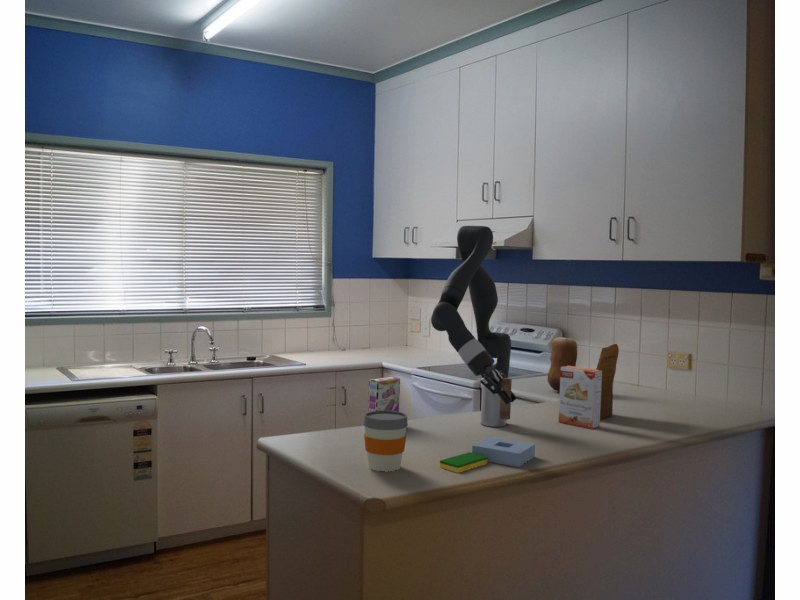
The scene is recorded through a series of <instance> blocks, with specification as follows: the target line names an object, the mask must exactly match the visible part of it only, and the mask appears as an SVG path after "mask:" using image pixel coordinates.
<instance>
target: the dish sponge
mask: <svg viewBox="0 0 800 600" xmlns="http://www.w3.org/2000/svg"><path fill="white" fill-rule="evenodd" d="M487 458H488V457H486V456H482V455H478V454H474V453H472V452H470V451H469V452H468V451H467V452H465V453H461V454H459V455H454V456H450V457H448V458H444V459H440V460H439V468H441V469H444V470H446V469H447V471H450V472H453V473H456V474H457V473H461V472H465V470H466V471H468V470H471V468H472V469H475V468H477V466H479V467H482V466H484V465H487V464H488V461H487ZM481 465H482V466H481ZM474 467H475V468H474Z"/></svg>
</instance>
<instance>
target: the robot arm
mask: <svg viewBox="0 0 800 600" xmlns="http://www.w3.org/2000/svg"><path fill="white" fill-rule="evenodd" d="M456 235H457V236H456V242H457V247H458V248H457V249H458V251H459V255H460V258H461V260H462V261H461V262H462V263H461V264H460V265H459V266H458V267H456V268H455V269H454V270H453V271H452V272H451V273H450V274H449V275H448V278H447V280H446V282H445V283H444V287H443V289H442V291H441V295H440V297H439V301H438V302H437V304H436V305H435V307H434V308H433V312H432V314H431V317H430V322H431V325H432V327H433V329H434V330H436V331H438V332H446V333H447V336H448V342H449V343H450V345H451V346H452V347H453V348H454V350H455V351H456V352H457V354H458V356H459V357H460V358H461V360H462V361H463V363H464V364H465V365H466V366H467V367H468V369H469V370H470V371H471V372H472V373H473V374H474V376H475V377H479V376H481V380H479V382H480V384H481V403H480V404H481V407H480V424H481V425H483V426H486V427H494V428H495V427H498V428H499V427H505V426H507V420H503V419H500V418H499V416H500V397H501V399H502V400H503V401H504V402H505V403H506V404H509V403H510V402H511V403H513V402H514V401H516V400H517V396H516V395H515V394H514V392H513V391H512V390H511V397H510V396H509V395H508V394H507V392H506V391H505V390H504V389H503V387H502V386H501V378H509V371H510V363H511V362H510V361H511V353H512V339H511V336H510V334H508V333H504V332H494V331H491V330H490V320H491V319H492V316H493V314H494V312H495V310H496V308H497V307H498V303H499V299H498V298H499V297H498V293H497V287H496V283H495V281H494V279H493V278H492V276H491V275H490V274H489V273H488V272H487V271H486V269H485V268H484V267H483V266H482V264H483V262H484V260H486V258H487V257H488V255H489V253H490V251H491V249H492V246H493V243H494V234H493V231H492V229H491V227H489V226H485V225H463V226H461V227H459V229H458V231H457V234H456ZM467 290H469V296H470V301H471V305H472V310H473V315H474V319H475V326H476V327H475V329H476V337H475V336H474V335H473V333H472V332H471V331H470V330H469V329H468V327H467V326H466V324H465V321H464V319H463V318H462V316H461V315H460V313H459V311H458V309H459V306H460V305H461V303H462V301H463V299H464V297H465V295H466V293H467ZM495 359H496V360H495ZM495 361H496V363H495ZM494 363H495V364H494ZM503 390H504V391H503Z"/></svg>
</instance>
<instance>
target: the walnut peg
mask: <svg viewBox="0 0 800 600" xmlns="http://www.w3.org/2000/svg"><path fill="white" fill-rule="evenodd" d="M512 380H513V379H512V378H509V377H508V378H501V386H502V387H503V389H504V390H505V391H506V392H507V394H508V395H509V396H510V397H511V391H512V382H513V381H512ZM504 390H503V391H504ZM511 403H512V402H510V403H509V404H506V403H505V402H504V401H503V400H502V399H501V397H500V416H499V418H500V419H503V420H506V421H507V420H510V419H511V411H512V410H511V408H512V407H511V406H512V404H511Z"/></svg>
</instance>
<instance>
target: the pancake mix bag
mask: <svg viewBox="0 0 800 600" xmlns="http://www.w3.org/2000/svg"><path fill="white" fill-rule="evenodd" d="M619 349H620V348H619V345H618V344H617V343H614V344H611V345H608V346H606V347H603V348H601V351H600V355H599V357H598V363H597V365H596V369H595V370H601V371H602V387H601V409H600V421H601V420H605V419H607V418H610V417H613V403H614V401H613V400H614V398H613V397H614V393H613V392H614V381H615V377H616V376H615V375H616V371H617V363H618V358H619V351H620V350H619Z"/></svg>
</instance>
